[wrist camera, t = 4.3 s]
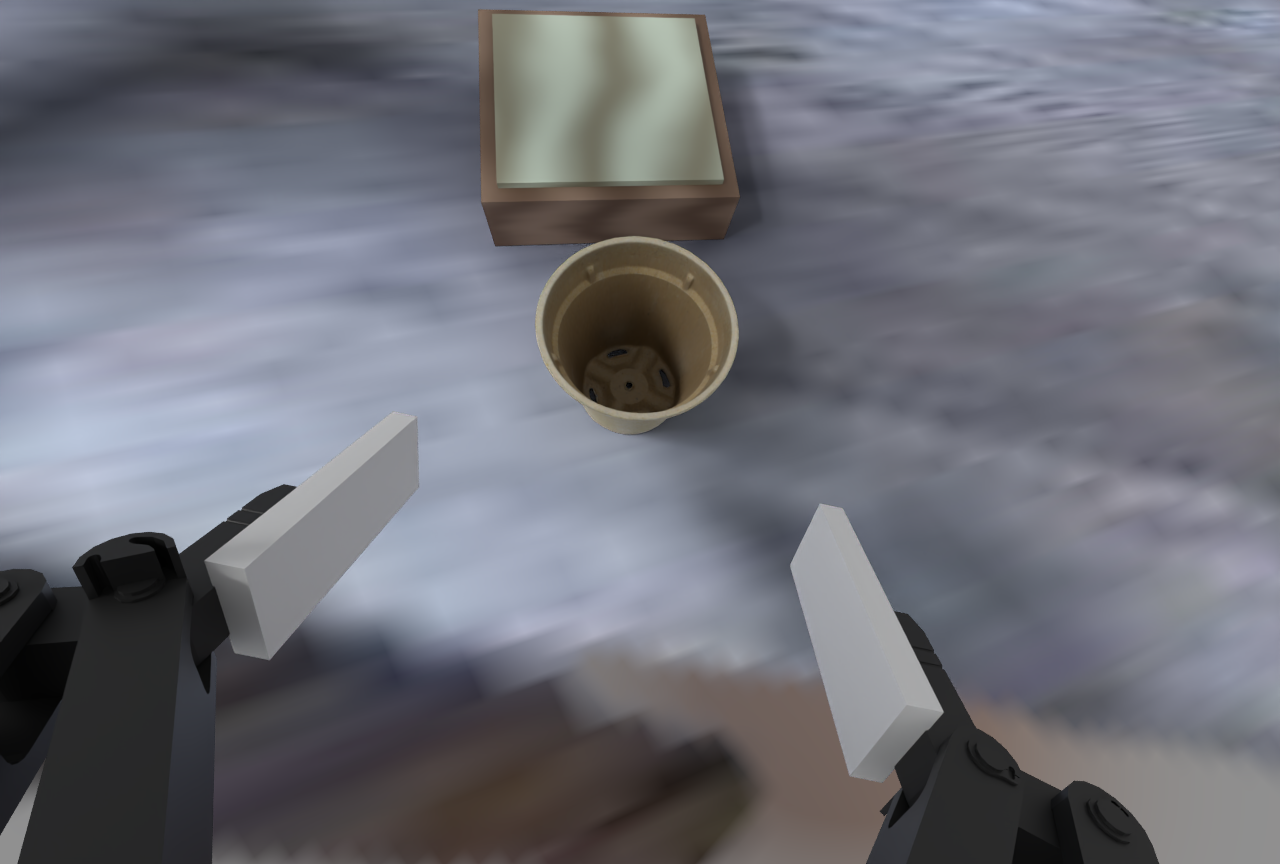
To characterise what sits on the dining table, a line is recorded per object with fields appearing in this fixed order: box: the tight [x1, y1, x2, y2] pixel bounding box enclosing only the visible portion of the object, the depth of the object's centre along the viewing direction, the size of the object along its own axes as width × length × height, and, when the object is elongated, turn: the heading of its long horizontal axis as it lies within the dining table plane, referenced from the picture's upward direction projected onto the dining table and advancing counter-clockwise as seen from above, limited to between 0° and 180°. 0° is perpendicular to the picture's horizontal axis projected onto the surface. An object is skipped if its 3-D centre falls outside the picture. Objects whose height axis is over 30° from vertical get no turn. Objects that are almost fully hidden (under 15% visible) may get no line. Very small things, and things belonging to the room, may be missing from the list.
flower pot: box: [535, 236, 739, 434], centre depth 26 cm, size 9×9×9 cm
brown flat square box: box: [478, 9, 740, 246], centre depth 33 cm, size 16×16×4 cm
